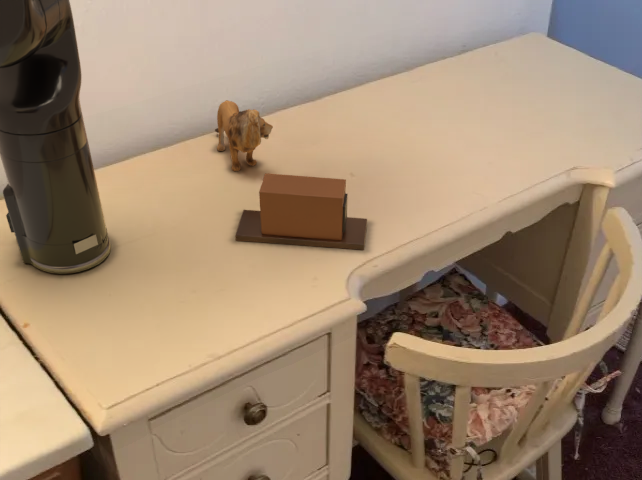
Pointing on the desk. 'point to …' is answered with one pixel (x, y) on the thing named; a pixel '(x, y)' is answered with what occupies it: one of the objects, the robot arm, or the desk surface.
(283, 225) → the brown cardboard box
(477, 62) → the desk surface
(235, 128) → the lion figurine
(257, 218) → the walnut board
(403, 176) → the desk surface
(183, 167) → the desk surface
